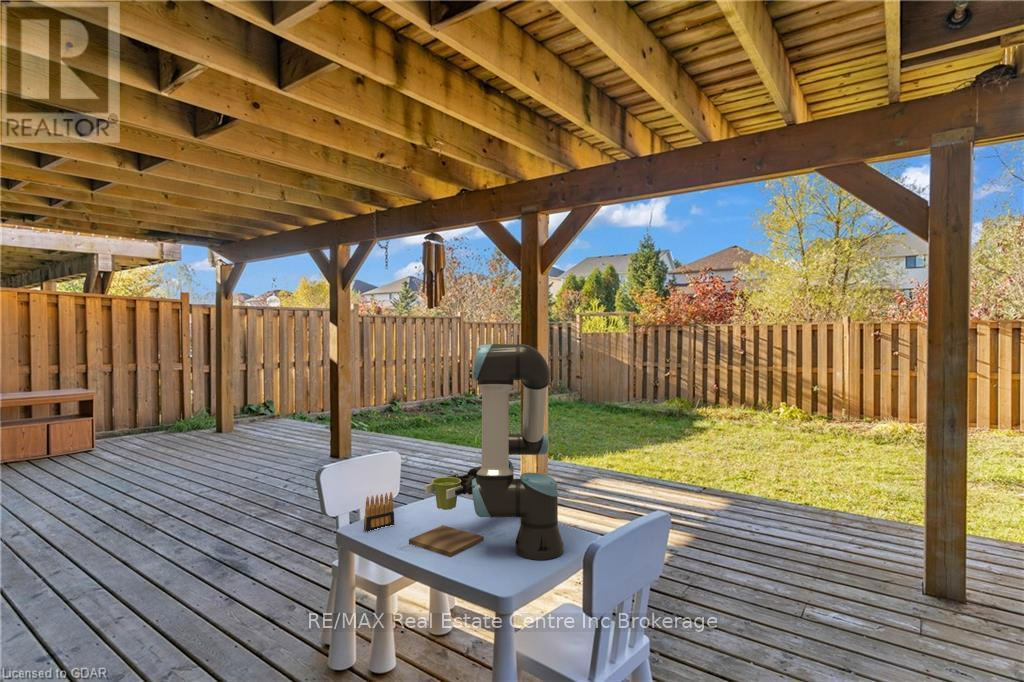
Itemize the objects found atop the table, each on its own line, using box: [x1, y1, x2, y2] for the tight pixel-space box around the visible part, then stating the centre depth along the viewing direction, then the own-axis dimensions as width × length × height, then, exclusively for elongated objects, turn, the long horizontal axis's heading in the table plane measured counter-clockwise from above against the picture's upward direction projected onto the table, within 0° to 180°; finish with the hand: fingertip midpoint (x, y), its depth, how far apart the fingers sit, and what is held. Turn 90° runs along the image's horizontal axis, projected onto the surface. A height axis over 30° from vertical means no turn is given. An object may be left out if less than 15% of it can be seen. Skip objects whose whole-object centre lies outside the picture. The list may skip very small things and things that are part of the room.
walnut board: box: [408, 525, 485, 558], centre depth 169 cm, size 18×16×2 cm
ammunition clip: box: [363, 491, 395, 532], centre depth 182 cm, size 11×2×12 cm, turn 130°
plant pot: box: [431, 476, 461, 511], centre depth 169 cm, size 9×9×9 cm
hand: (436, 492), depth 165 cm, fingers closed on plant pot, 8 cm apart
